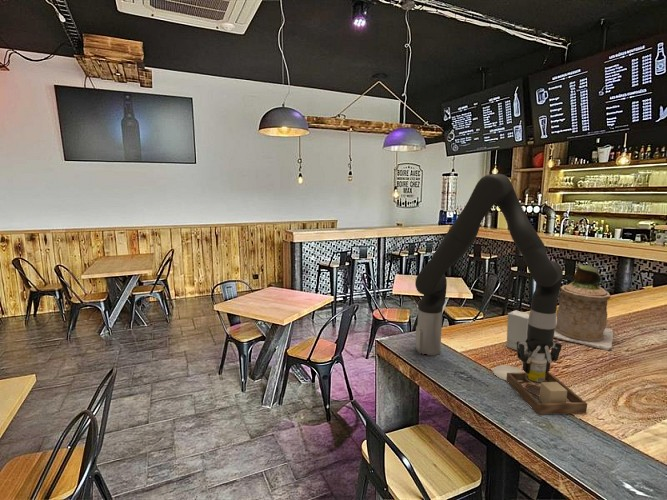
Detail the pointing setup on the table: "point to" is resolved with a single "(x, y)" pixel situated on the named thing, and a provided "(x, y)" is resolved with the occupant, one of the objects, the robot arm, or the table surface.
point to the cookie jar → (584, 311)
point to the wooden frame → (547, 408)
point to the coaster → (506, 371)
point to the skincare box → (517, 328)
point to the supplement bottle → (537, 369)
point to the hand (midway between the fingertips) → (535, 372)
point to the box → (552, 393)
